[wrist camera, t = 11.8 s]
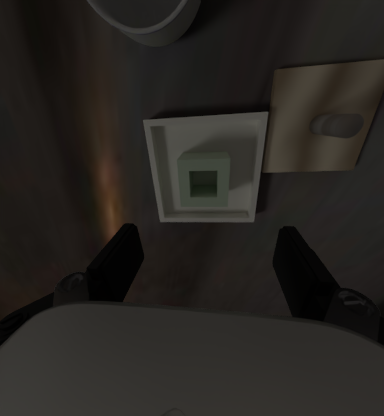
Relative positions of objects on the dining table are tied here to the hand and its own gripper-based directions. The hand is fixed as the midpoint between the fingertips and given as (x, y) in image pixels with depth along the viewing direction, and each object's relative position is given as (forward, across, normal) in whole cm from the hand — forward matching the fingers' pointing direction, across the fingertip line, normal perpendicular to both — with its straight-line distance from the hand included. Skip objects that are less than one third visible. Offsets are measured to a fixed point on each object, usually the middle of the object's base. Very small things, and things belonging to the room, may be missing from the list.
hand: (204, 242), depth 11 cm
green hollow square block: (+17, +1, 0) cm, 17 cm away
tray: (+17, +1, 0) cm, 17 cm away
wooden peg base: (+18, -14, -6) cm, 23 cm away
